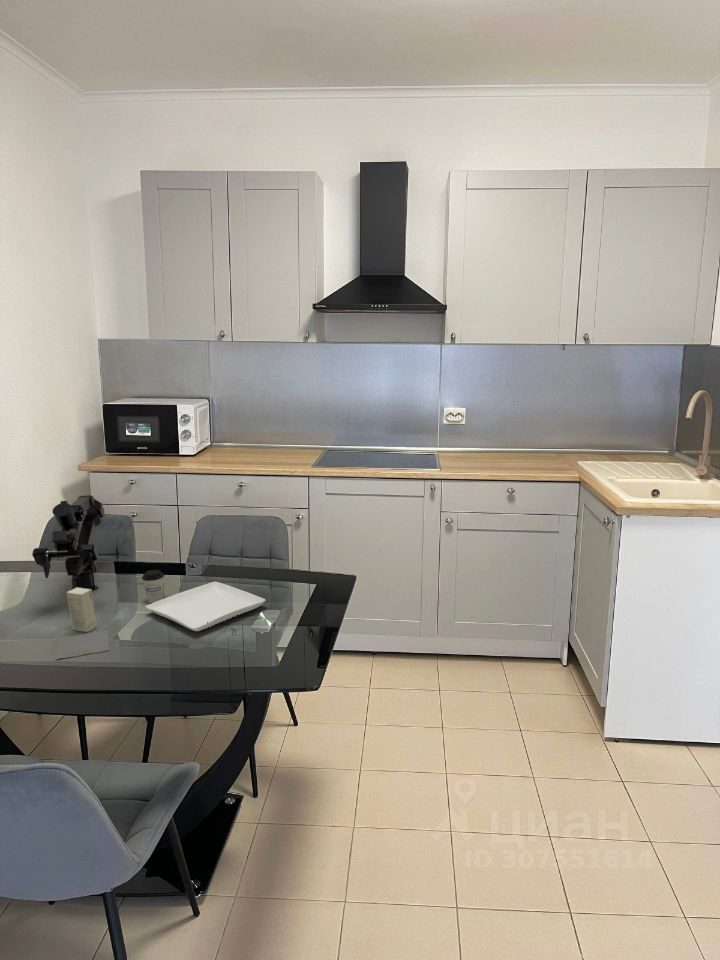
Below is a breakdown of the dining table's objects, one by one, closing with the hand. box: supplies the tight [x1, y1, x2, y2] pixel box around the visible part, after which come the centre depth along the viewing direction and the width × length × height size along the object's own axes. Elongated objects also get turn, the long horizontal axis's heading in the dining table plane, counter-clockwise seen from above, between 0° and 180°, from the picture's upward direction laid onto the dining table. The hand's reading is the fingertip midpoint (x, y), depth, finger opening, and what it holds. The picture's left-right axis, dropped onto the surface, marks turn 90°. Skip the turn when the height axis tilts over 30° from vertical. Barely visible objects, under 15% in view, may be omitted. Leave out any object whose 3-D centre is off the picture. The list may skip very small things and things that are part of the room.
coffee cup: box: [141, 569, 165, 604], centre depth 238 cm, size 7×7×10 cm
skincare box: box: [66, 587, 98, 633], centre depth 220 cm, size 6×4×12 cm
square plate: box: [145, 581, 267, 632], centre depth 230 cm, size 27×27×4 cm
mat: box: [56, 629, 110, 653], centre depth 210 cm, size 14×14×1 cm
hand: (61, 576), depth 227 cm, fingers open, 9 cm apart
